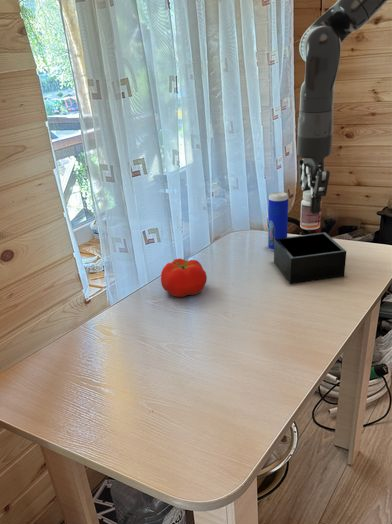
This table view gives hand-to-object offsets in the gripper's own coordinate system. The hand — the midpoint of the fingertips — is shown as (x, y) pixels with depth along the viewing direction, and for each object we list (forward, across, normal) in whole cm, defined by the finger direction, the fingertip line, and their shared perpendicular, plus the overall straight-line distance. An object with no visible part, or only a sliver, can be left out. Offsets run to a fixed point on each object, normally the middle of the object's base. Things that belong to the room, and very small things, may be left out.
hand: (311, 209), depth 122 cm
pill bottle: (+5, 0, 0) cm, 5 cm away
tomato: (+16, -3, +32) cm, 36 cm away
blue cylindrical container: (+16, +16, +3) cm, 23 cm away
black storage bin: (+16, 0, 0) cm, 16 cm away
